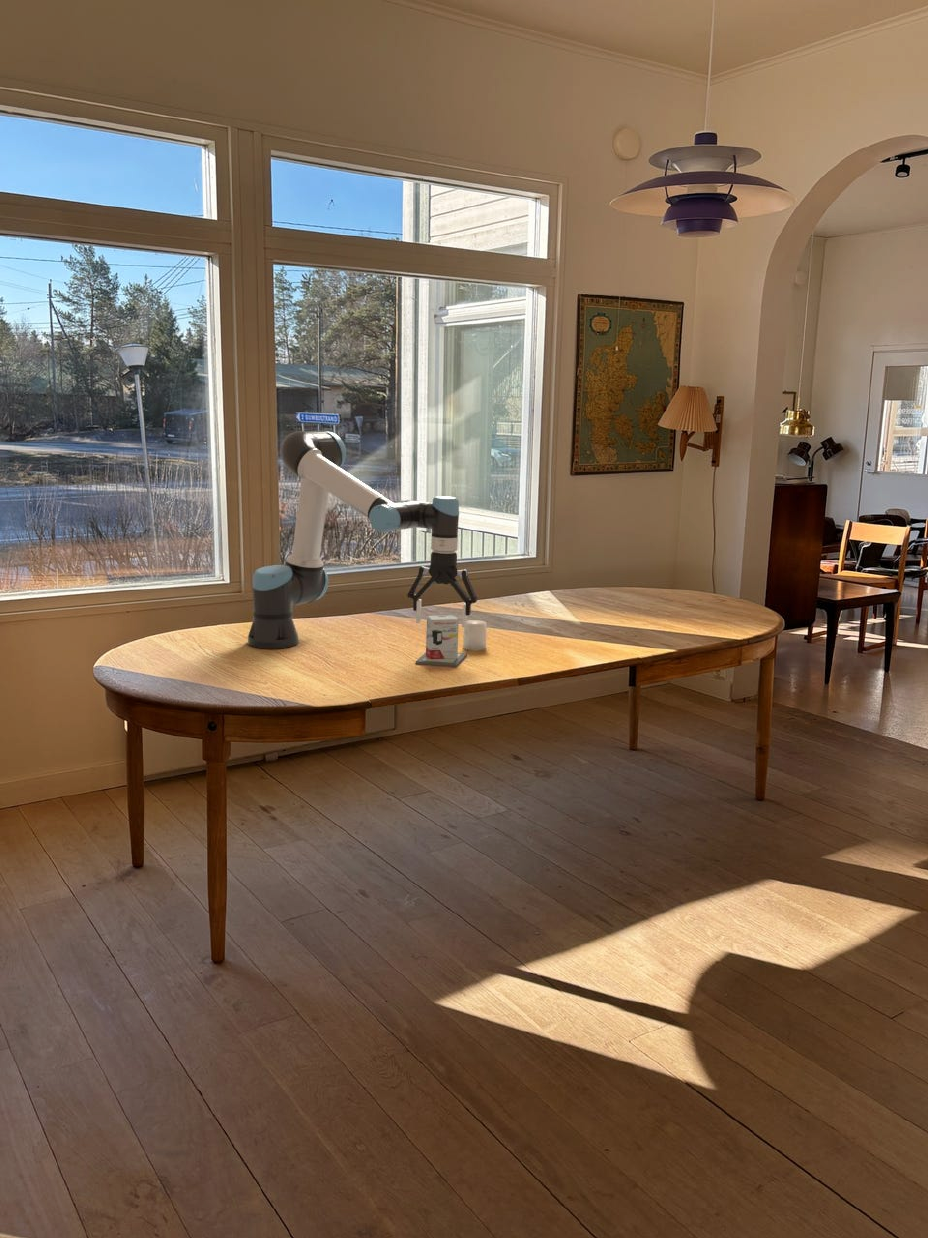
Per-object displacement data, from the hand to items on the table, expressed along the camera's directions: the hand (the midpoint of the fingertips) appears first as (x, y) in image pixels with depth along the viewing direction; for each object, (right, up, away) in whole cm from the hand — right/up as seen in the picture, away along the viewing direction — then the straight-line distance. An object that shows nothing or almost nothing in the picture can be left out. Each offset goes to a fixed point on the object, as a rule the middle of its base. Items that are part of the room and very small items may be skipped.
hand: (441, 624), depth 292 cm
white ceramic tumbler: (+10, -7, +18) cm, 22 cm away
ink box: (0, -10, +2) cm, 10 cm away
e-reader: (0, -10, +2) cm, 11 cm away
